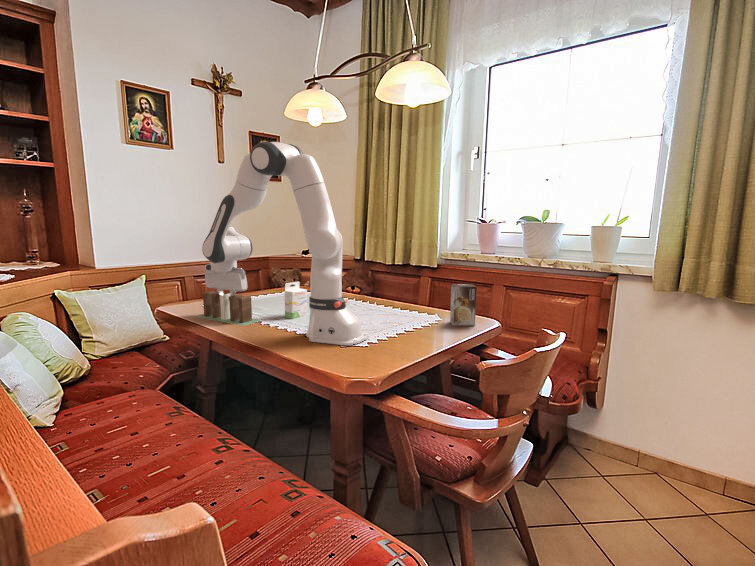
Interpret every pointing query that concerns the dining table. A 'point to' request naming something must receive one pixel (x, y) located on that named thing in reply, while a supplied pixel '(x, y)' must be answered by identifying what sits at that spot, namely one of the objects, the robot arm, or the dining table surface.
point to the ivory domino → (225, 306)
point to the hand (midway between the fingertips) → (226, 300)
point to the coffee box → (463, 304)
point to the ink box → (295, 301)
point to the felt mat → (229, 320)
